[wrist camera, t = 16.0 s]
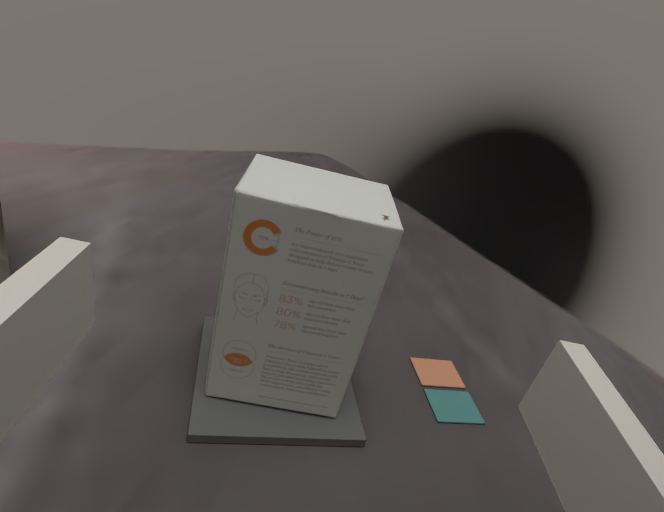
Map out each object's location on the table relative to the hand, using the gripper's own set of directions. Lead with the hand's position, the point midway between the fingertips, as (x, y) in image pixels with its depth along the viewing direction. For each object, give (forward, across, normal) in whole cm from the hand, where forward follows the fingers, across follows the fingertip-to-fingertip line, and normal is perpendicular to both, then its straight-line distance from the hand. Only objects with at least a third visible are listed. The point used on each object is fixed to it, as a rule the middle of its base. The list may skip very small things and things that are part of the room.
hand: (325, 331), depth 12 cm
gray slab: (+11, -1, -14) cm, 18 cm away
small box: (+11, -1, -13) cm, 17 cm away
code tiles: (+14, +12, -14) cm, 23 cm away
